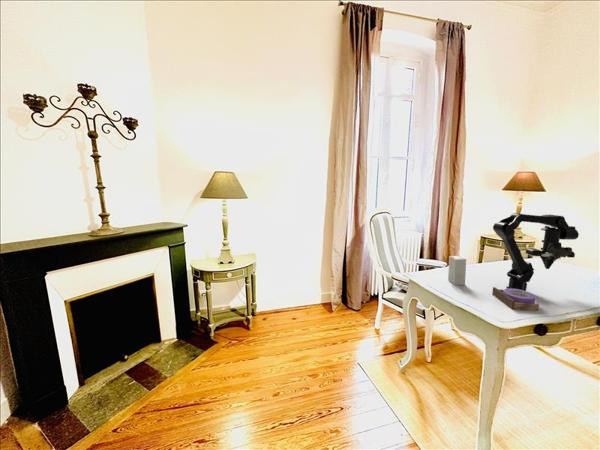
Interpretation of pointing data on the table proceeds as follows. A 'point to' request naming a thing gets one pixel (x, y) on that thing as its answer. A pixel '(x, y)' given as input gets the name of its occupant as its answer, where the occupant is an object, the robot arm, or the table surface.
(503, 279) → the table surface
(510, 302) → the brown flat open tray
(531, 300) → the tape roll
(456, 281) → the skincare box
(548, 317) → the table surface
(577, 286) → the table surface
